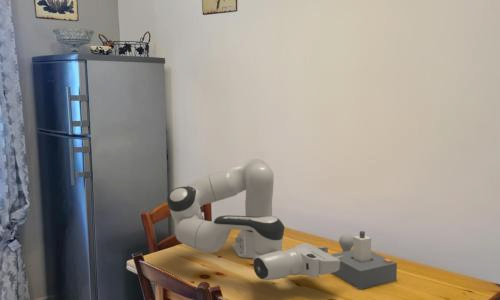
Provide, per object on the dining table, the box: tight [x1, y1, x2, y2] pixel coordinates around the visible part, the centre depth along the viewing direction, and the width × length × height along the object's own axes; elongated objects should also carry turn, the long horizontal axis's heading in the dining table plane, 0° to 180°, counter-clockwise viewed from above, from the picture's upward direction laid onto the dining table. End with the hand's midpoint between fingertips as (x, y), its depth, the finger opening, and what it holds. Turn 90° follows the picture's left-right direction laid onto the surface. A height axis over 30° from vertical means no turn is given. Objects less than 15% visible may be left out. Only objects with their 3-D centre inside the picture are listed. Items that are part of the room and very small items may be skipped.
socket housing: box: [330, 249, 398, 290], centre depth 168 cm, size 18×16×7 cm
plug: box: [352, 230, 372, 263], centre depth 168 cm, size 4×4×14 cm
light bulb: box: [338, 233, 354, 252], centre depth 186 cm, size 6×6×10 cm
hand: (334, 253), depth 162 cm, fingers open, 8 cm apart
